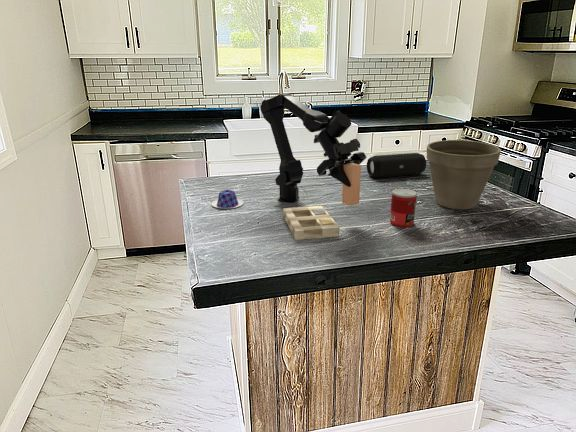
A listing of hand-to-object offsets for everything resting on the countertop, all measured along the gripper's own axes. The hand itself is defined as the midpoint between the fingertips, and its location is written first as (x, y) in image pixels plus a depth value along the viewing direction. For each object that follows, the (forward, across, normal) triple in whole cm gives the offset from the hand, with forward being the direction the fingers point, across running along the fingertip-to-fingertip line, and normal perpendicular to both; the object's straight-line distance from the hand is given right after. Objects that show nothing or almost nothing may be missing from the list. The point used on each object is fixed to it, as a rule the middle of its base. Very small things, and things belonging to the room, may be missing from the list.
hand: (354, 185), depth 145 cm
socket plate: (+4, -12, +15) cm, 20 cm away
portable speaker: (-9, +59, +29) cm, 66 cm away
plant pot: (+18, +44, +2) cm, 48 cm away
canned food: (+17, +13, +2) cm, 21 cm away
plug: (+4, 0, +6) cm, 7 cm away
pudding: (-21, -21, +41) cm, 51 cm away
